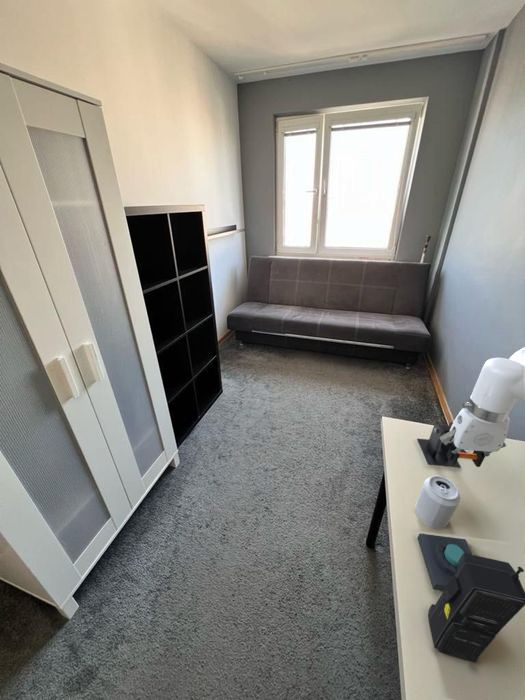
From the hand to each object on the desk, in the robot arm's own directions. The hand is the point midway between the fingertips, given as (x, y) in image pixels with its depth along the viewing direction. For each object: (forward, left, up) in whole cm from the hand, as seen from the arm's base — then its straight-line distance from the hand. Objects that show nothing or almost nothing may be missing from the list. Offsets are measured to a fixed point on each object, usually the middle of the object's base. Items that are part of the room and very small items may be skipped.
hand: (463, 460), depth 73 cm
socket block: (+9, +21, -10) cm, 25 cm away
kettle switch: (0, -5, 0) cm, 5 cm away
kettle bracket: (0, -11, -10) cm, 15 cm away
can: (+9, +10, -10) cm, 17 cm away
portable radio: (+14, +33, -10) cm, 37 cm away
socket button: (+9, +21, -7) cm, 24 cm away
